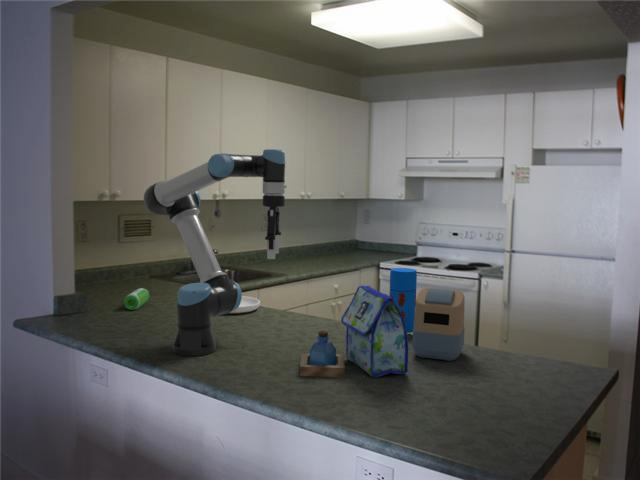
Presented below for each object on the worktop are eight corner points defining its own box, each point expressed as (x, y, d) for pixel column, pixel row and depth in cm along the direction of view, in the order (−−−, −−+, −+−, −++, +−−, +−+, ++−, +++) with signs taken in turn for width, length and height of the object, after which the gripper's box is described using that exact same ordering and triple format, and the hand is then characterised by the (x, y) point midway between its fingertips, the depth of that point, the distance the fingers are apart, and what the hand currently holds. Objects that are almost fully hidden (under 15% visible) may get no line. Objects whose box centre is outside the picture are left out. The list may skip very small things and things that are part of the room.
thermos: (413, 333, 244) (416, 272, 241) (387, 332, 246) (389, 271, 243) (415, 327, 254) (417, 268, 252) (389, 325, 257) (391, 267, 254)
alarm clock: (409, 358, 211) (412, 293, 209) (419, 346, 227) (421, 285, 224) (458, 364, 206) (461, 297, 203) (464, 351, 221) (467, 288, 219)
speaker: (135, 302, 292) (135, 287, 291) (150, 302, 292) (150, 287, 291) (122, 310, 275) (122, 294, 274) (138, 311, 275) (138, 294, 274)
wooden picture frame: (300, 375, 191) (300, 366, 191) (302, 362, 205) (302, 353, 205) (344, 377, 191) (344, 367, 191) (343, 363, 205) (343, 354, 205)
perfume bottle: (309, 369, 197) (310, 332, 196) (319, 364, 202) (320, 329, 201) (325, 372, 194) (326, 336, 192) (335, 367, 199) (336, 332, 198)
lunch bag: (337, 359, 208) (339, 285, 206) (381, 355, 214) (383, 282, 211) (364, 381, 188) (367, 298, 185) (412, 375, 194) (415, 295, 191)
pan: (231, 318, 264) (231, 304, 263) (168, 303, 291) (168, 290, 290) (271, 309, 283) (271, 296, 283) (209, 296, 311) (209, 283, 310)
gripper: (281, 196, 195) (281, 261, 198) (287, 193, 220) (286, 251, 223) (258, 196, 196) (258, 261, 198) (266, 193, 220) (266, 251, 223)
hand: (273, 256), depth 210 cm, fingers open, 13 cm apart
